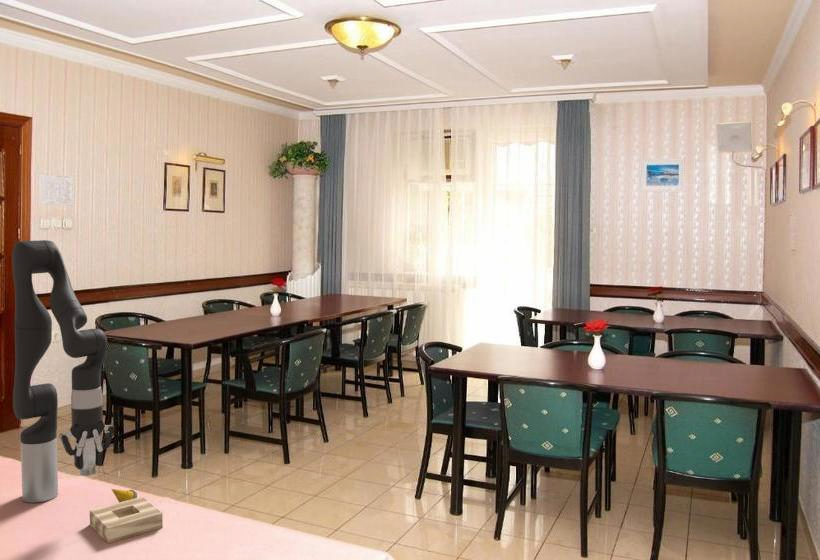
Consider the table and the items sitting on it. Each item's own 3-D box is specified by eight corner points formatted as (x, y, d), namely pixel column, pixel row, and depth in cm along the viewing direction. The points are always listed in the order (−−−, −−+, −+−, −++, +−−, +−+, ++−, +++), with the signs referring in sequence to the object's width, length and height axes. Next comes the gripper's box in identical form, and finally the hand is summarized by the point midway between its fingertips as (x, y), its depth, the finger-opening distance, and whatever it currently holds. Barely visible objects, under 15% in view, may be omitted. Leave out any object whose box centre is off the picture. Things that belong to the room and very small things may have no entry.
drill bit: (142, 510, 193) (117, 494, 187) (126, 515, 195) (101, 500, 188) (145, 493, 197) (121, 477, 191) (130, 499, 199) (106, 483, 192)
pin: (78, 472, 183) (77, 436, 183) (94, 469, 186) (93, 433, 185) (83, 476, 181) (82, 439, 180) (98, 473, 183) (98, 436, 182)
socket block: (89, 524, 183) (89, 510, 182) (142, 510, 192) (142, 496, 192) (108, 543, 172) (107, 528, 172) (162, 527, 182) (162, 513, 181)
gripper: (109, 396, 189) (111, 457, 191) (53, 405, 180) (55, 468, 181) (119, 402, 184) (120, 464, 185) (62, 411, 174) (64, 477, 176)
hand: (88, 466), depth 183 cm, fingers closed on pin, 4 cm apart
